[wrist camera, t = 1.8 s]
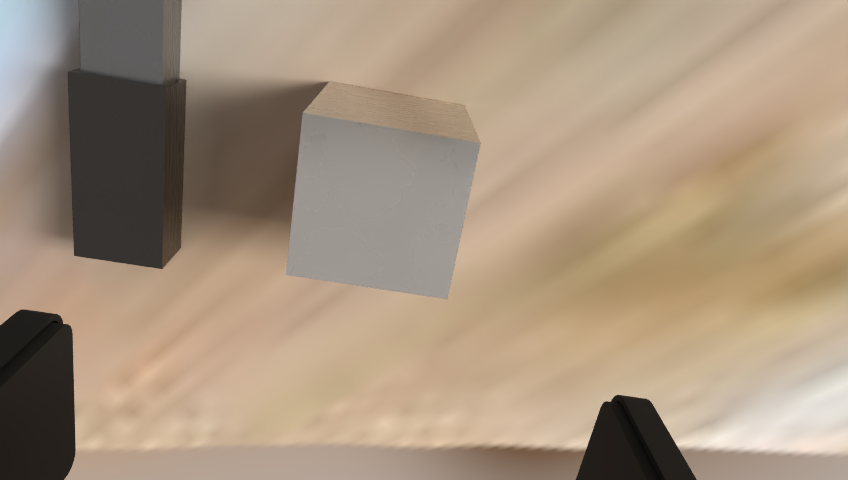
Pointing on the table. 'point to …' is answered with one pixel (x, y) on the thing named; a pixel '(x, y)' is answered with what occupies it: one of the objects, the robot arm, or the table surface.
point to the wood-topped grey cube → (381, 190)
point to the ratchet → (128, 132)
